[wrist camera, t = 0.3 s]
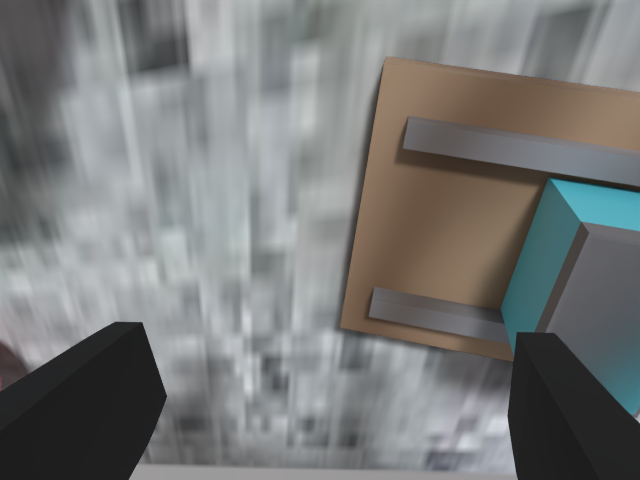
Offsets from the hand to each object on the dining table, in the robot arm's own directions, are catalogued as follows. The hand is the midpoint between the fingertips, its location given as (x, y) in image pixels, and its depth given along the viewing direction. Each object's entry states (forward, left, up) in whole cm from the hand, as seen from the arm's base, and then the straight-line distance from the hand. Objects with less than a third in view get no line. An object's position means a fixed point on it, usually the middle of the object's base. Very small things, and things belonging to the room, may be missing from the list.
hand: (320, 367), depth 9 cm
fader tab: (-7, 0, -8) cm, 10 cm away
